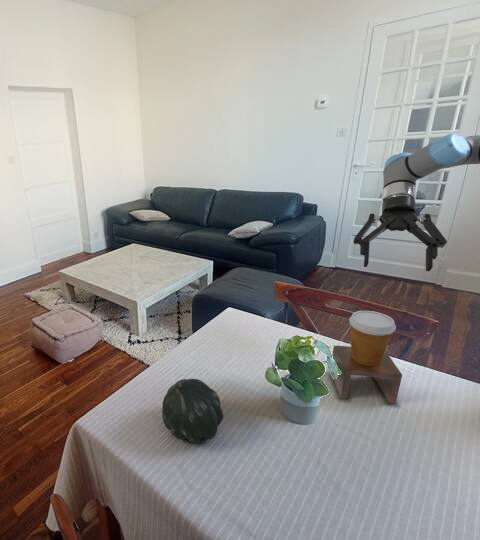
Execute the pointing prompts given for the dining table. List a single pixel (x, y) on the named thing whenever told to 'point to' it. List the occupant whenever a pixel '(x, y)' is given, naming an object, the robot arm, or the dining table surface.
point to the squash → (192, 410)
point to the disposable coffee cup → (370, 336)
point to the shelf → (367, 373)
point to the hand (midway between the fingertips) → (396, 267)
